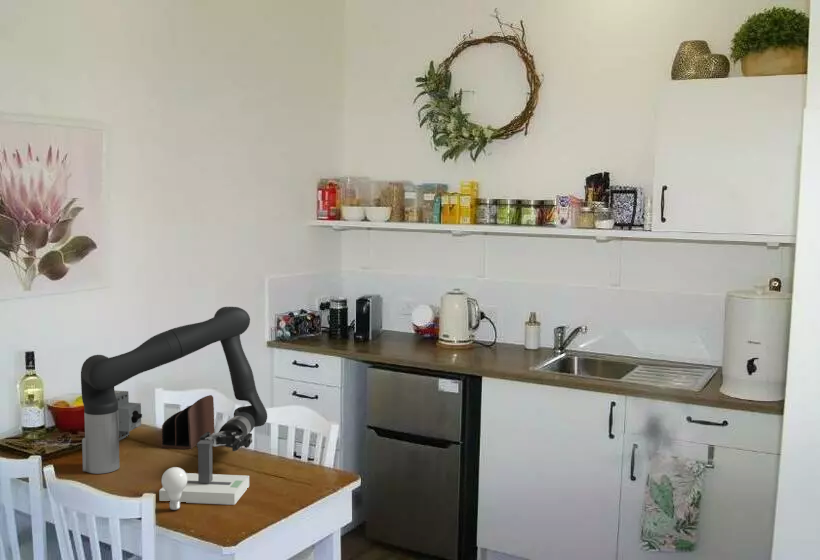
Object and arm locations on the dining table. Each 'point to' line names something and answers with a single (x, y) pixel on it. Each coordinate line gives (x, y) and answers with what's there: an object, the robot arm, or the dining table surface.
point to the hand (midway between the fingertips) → (218, 447)
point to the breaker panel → (212, 489)
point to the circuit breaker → (127, 414)
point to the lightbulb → (174, 485)
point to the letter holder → (189, 425)
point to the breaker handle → (205, 461)
